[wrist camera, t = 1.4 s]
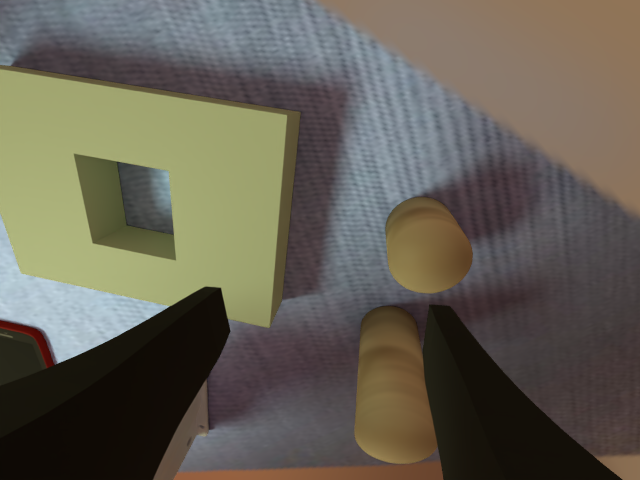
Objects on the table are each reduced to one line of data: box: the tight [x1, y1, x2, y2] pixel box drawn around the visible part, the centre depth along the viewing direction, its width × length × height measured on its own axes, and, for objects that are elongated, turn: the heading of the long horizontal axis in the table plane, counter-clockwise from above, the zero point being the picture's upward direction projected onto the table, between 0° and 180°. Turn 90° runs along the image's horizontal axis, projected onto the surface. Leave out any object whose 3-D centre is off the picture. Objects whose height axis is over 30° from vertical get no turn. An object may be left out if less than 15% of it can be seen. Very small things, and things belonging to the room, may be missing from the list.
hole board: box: [0, 65, 301, 328], centre depth 19 cm, size 13×18×3 cm
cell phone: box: [0, 321, 54, 386], centre depth 32 cm, size 8×15×1 cm, turn 173°
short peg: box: [385, 197, 473, 293], centre depth 17 cm, size 4×4×4 cm
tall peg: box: [355, 306, 437, 464], centre depth 19 cm, size 4×4×8 cm
